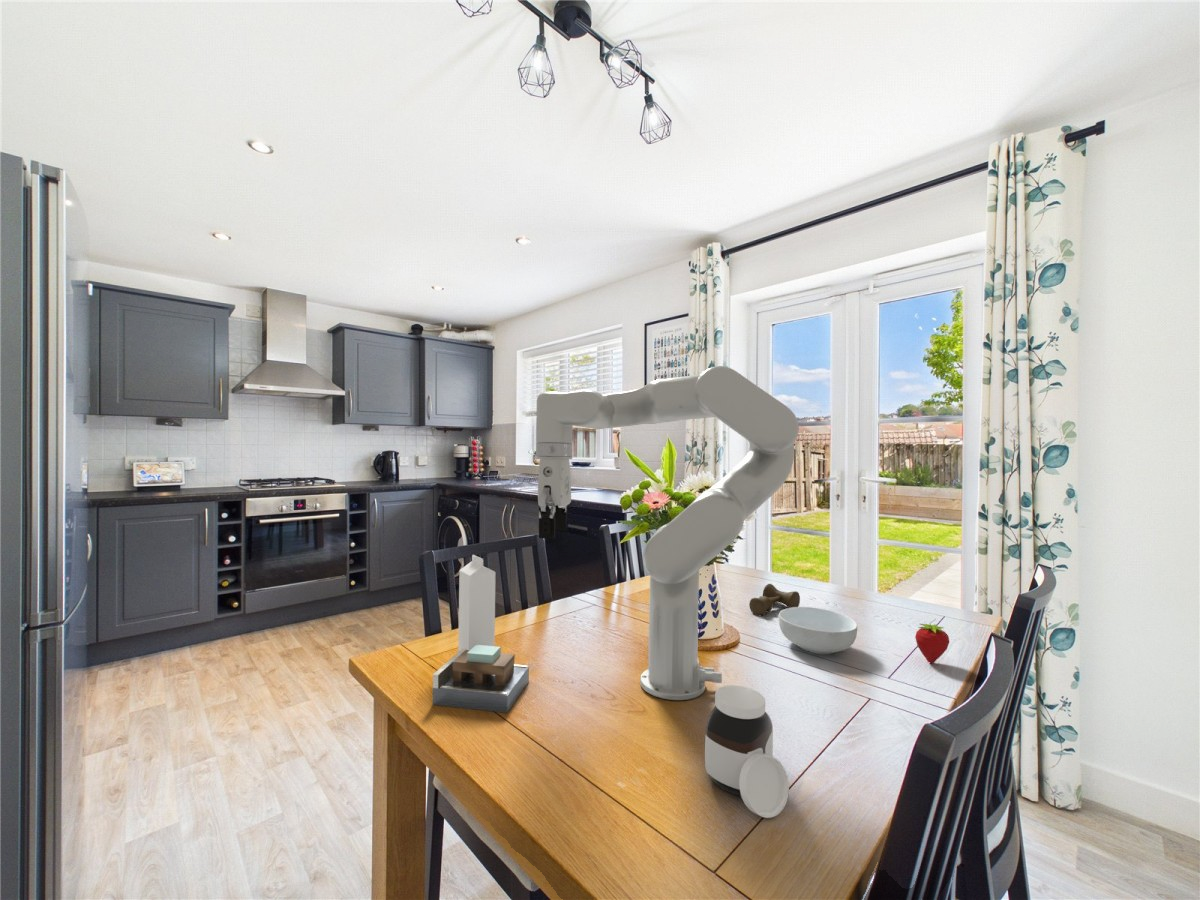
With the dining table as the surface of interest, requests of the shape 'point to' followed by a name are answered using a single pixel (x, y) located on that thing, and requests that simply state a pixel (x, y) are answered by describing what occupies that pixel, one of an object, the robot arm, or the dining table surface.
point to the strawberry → (932, 641)
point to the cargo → (483, 654)
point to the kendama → (773, 600)
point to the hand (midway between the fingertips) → (553, 534)
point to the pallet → (484, 668)
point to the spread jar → (745, 751)
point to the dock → (477, 689)
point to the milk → (476, 605)
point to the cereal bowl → (817, 629)
